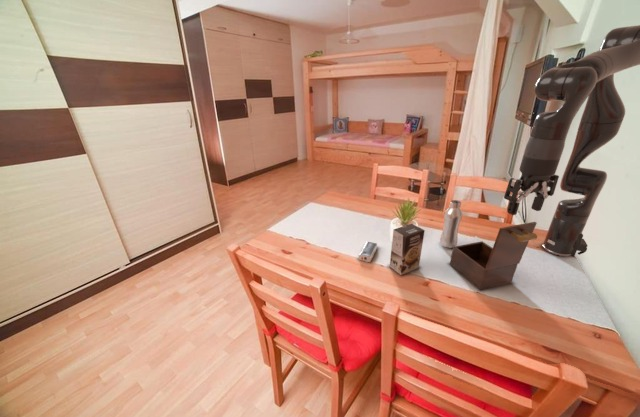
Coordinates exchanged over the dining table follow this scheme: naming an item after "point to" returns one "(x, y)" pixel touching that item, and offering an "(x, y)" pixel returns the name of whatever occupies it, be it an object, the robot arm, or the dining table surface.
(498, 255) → the lid
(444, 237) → the silver metal bottle
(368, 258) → the multiport hub
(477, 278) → the chest
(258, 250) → the dining table surface
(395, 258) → the coffee box
